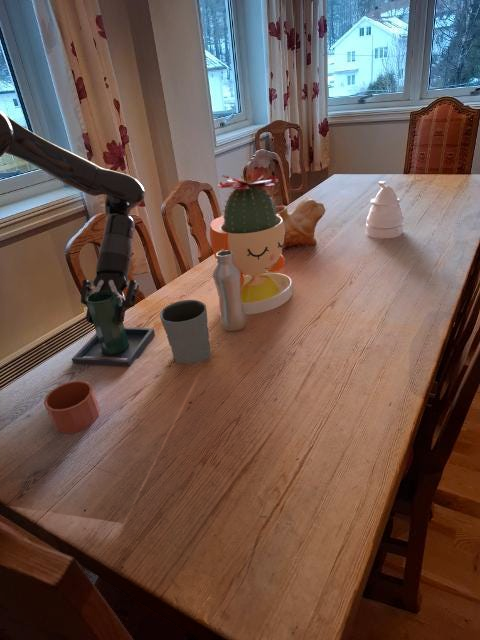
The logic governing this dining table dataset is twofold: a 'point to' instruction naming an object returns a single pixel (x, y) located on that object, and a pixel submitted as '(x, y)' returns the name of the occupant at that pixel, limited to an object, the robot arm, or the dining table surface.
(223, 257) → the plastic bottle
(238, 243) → the potted cactus
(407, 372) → the dining table surface
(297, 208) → the tan lumpy piece
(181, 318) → the grey cup
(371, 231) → the honey pot
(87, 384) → the short cup
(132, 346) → the tray
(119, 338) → the tall cup
